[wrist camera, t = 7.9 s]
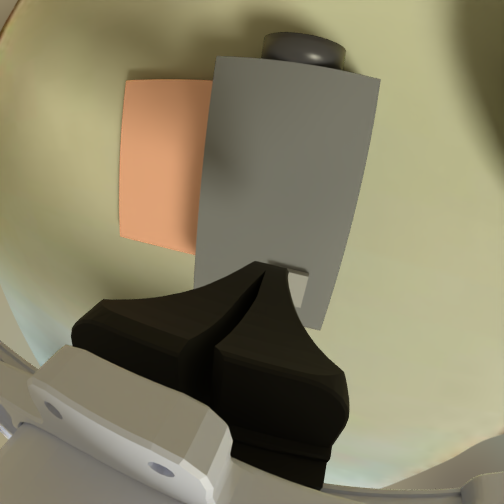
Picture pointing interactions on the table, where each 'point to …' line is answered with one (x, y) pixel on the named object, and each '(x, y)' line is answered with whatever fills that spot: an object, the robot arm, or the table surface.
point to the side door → (162, 160)
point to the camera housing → (284, 165)
